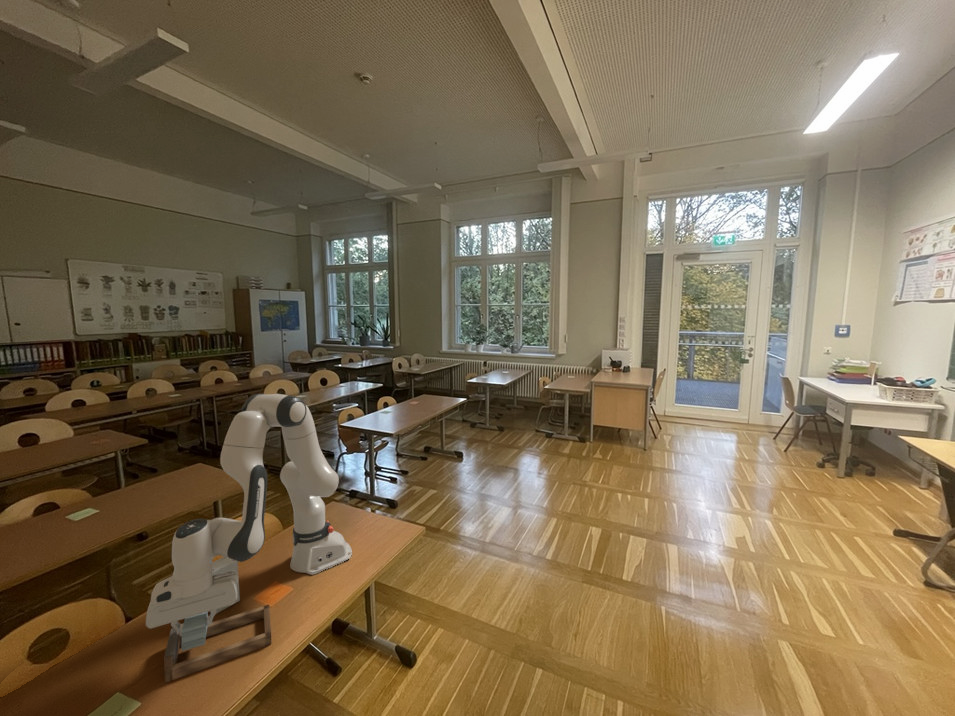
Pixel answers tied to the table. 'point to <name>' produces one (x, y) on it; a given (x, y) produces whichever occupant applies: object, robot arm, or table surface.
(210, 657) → the bay
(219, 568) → the skincare box
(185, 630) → the grey boxy piece
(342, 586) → the table surface
